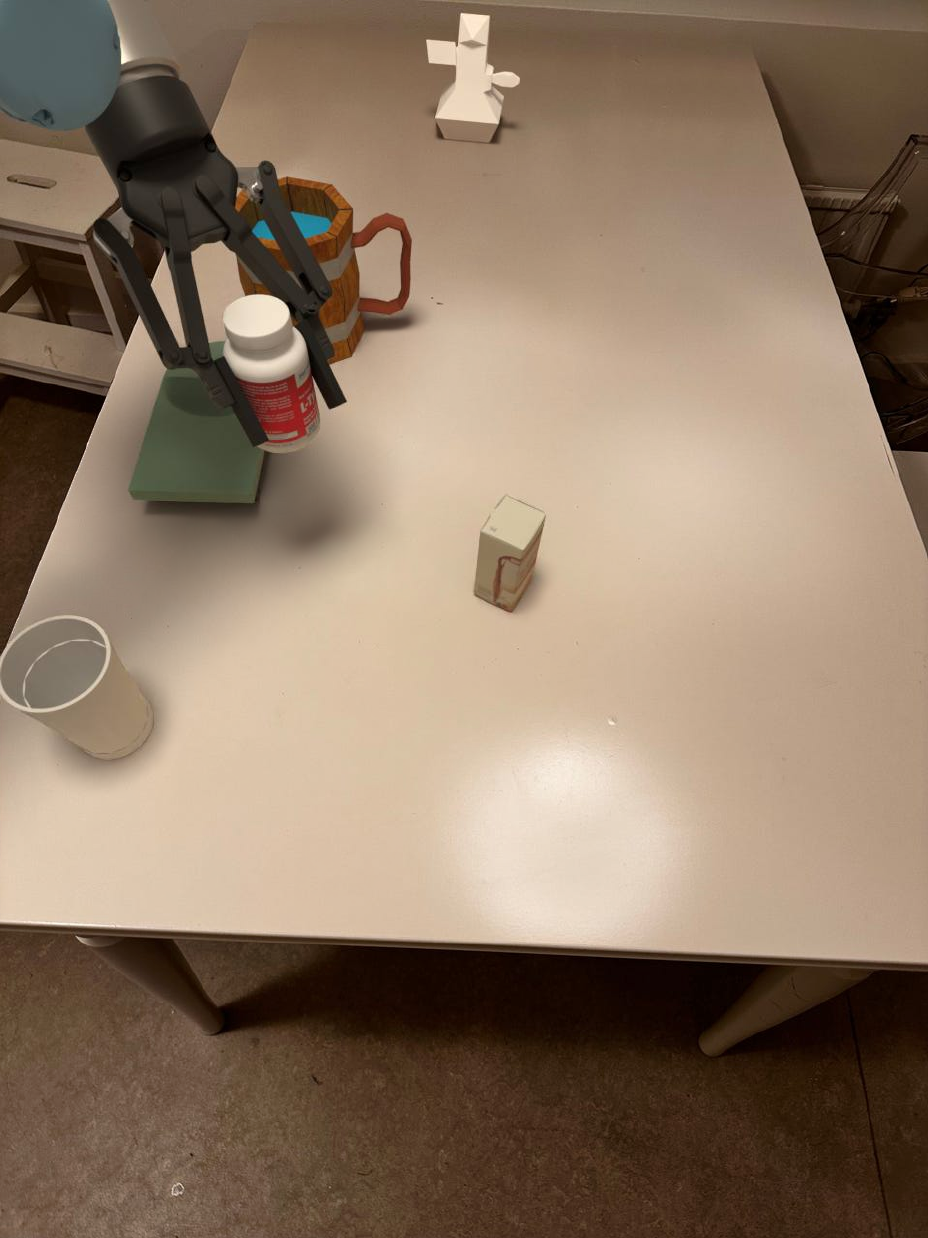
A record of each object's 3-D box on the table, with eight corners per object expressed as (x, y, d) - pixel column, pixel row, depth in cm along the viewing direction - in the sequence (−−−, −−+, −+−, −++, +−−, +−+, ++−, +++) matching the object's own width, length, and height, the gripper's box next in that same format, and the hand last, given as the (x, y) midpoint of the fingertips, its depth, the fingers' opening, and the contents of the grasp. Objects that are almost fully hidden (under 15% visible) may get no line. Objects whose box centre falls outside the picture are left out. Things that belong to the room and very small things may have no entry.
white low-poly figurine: (512, 148, 113) (521, 42, 101) (421, 140, 113) (419, 33, 101) (517, 120, 117) (526, 15, 105) (429, 111, 117) (428, 6, 106)
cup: (178, 736, 64) (127, 675, 53) (87, 787, 61) (15, 733, 51) (142, 667, 67) (87, 597, 57) (54, 713, 65) (-19, 648, 54)
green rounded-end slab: (259, 518, 76) (250, 493, 72) (141, 515, 76) (127, 490, 72) (288, 370, 87) (281, 342, 84) (185, 367, 87) (174, 339, 83)
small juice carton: (512, 614, 71) (522, 553, 62) (472, 594, 72) (476, 531, 63) (536, 575, 73) (549, 511, 65) (497, 556, 74) (504, 491, 66)
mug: (253, 374, 86) (220, 255, 74) (254, 300, 93) (223, 179, 80) (420, 362, 88) (417, 243, 75) (409, 290, 95) (404, 170, 82)
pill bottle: (322, 453, 60) (300, 341, 51) (246, 458, 60) (209, 346, 50) (320, 399, 63) (299, 284, 54) (247, 403, 63) (213, 288, 53)
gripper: (249, 88, 56) (385, 381, 64) (-4, 168, 50) (181, 481, 58) (271, 32, 49) (420, 366, 57) (-18, 116, 43) (193, 478, 51)
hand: (300, 423), depth 57 cm, fingers closed on pill bottle, 6 cm apart
